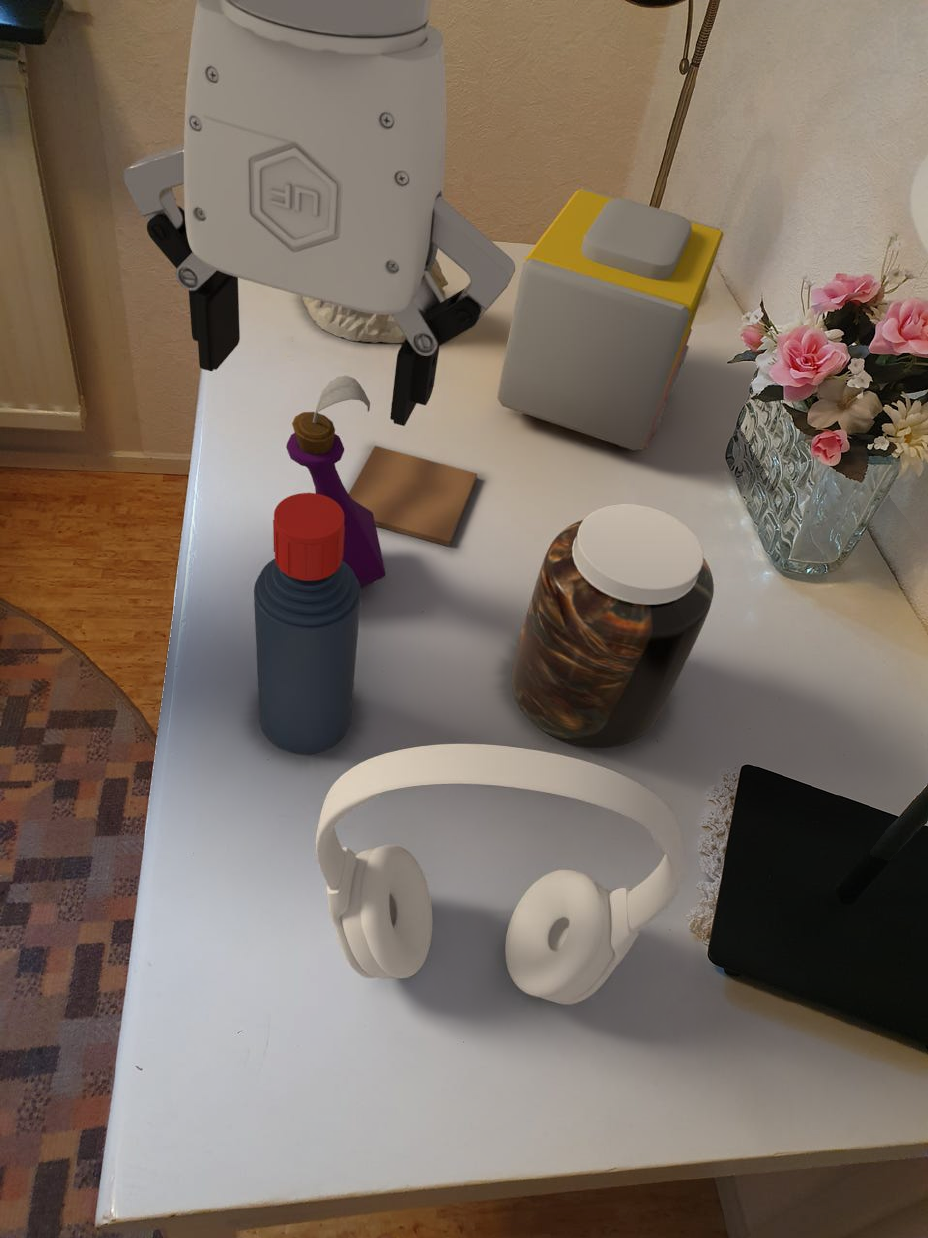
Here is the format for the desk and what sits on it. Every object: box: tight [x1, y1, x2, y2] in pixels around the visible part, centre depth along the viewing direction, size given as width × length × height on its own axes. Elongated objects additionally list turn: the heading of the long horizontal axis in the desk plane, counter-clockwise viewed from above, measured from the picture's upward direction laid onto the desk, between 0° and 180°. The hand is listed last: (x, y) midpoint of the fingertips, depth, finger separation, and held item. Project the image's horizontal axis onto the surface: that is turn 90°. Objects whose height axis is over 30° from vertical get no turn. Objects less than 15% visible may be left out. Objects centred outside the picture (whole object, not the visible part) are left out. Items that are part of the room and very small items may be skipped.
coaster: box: [348, 445, 478, 547], centre depth 83 cm, size 10×10×1 cm
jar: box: [511, 503, 715, 748], centre depth 66 cm, size 12×12×15 cm
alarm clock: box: [496, 187, 724, 451], centre depth 91 cm, size 20×16×18 cm
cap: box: [272, 492, 345, 581], centre depth 53 cm, size 4×4×3 cm
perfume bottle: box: [285, 375, 387, 590], centre depth 69 cm, size 8×8×18 cm
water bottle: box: [253, 557, 362, 755], centre depth 59 cm, size 6×6×18 cm
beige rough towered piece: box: [301, 257, 449, 344], centre depth 100 cm, size 16×16×15 cm
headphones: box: [315, 743, 685, 1005], centre depth 48 cm, size 7×18×20 cm, turn 85°
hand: (312, 382), depth 45 cm, fingers open, 9 cm apart
